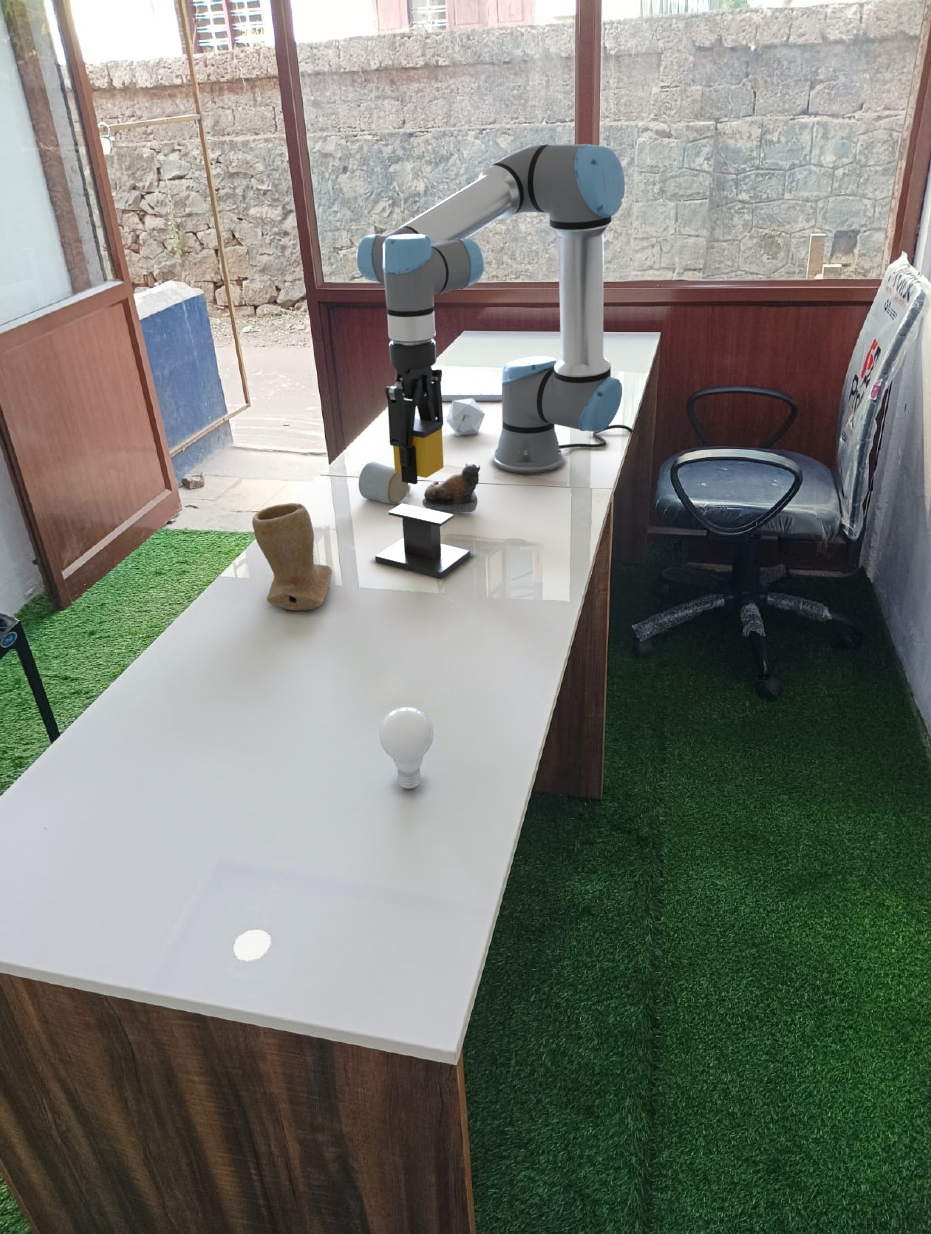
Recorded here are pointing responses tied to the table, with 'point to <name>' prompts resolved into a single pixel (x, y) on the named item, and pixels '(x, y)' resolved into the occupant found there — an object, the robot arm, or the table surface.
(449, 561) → the stand
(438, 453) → the block
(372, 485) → the ceramic mug
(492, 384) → the computer keyboard
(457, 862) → the table surface
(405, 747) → the lightbulb
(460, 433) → the die
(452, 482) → the brown animal-shaped figure
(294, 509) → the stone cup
